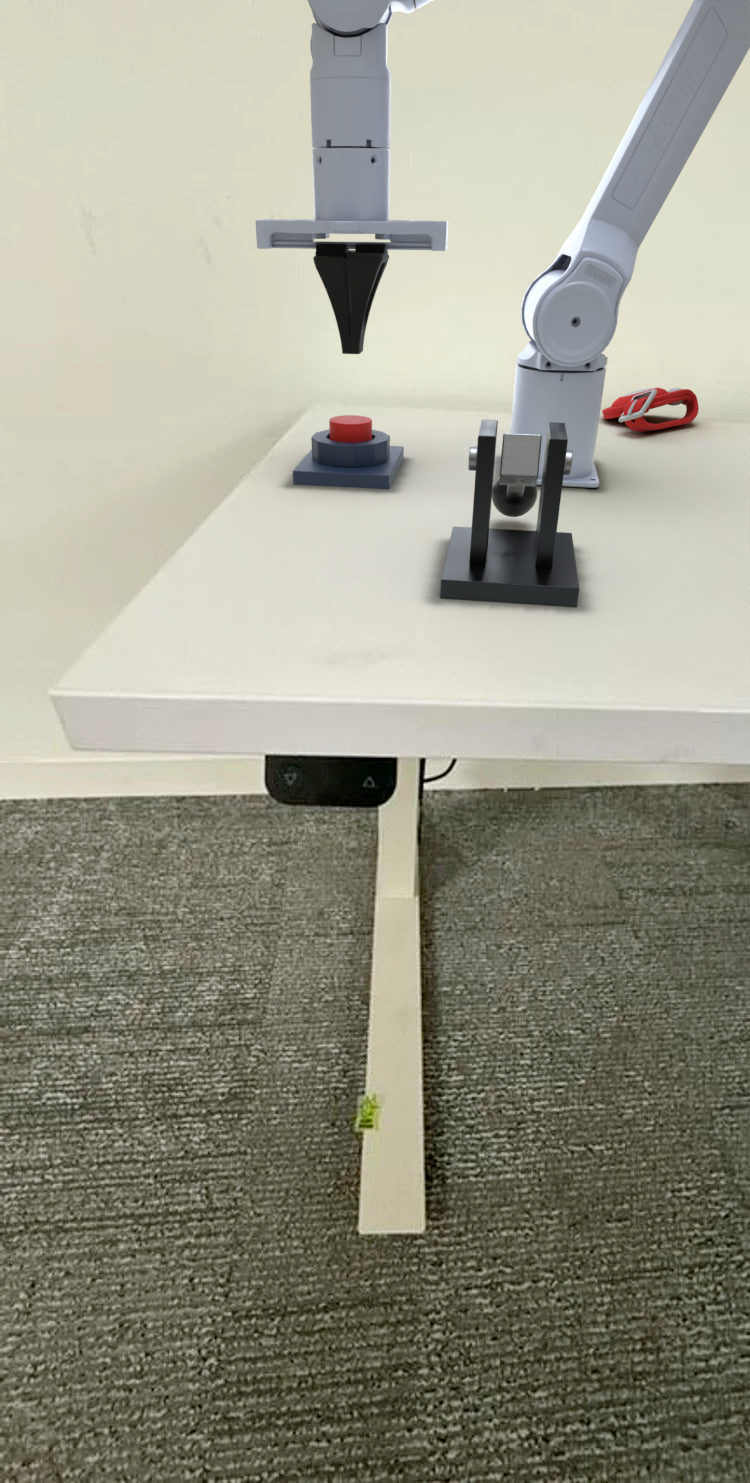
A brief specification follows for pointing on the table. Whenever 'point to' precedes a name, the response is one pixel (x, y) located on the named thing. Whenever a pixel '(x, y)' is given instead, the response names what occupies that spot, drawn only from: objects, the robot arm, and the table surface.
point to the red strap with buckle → (651, 407)
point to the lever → (517, 474)
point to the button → (350, 428)
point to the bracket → (514, 537)
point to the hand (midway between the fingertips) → (352, 352)
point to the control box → (350, 462)
